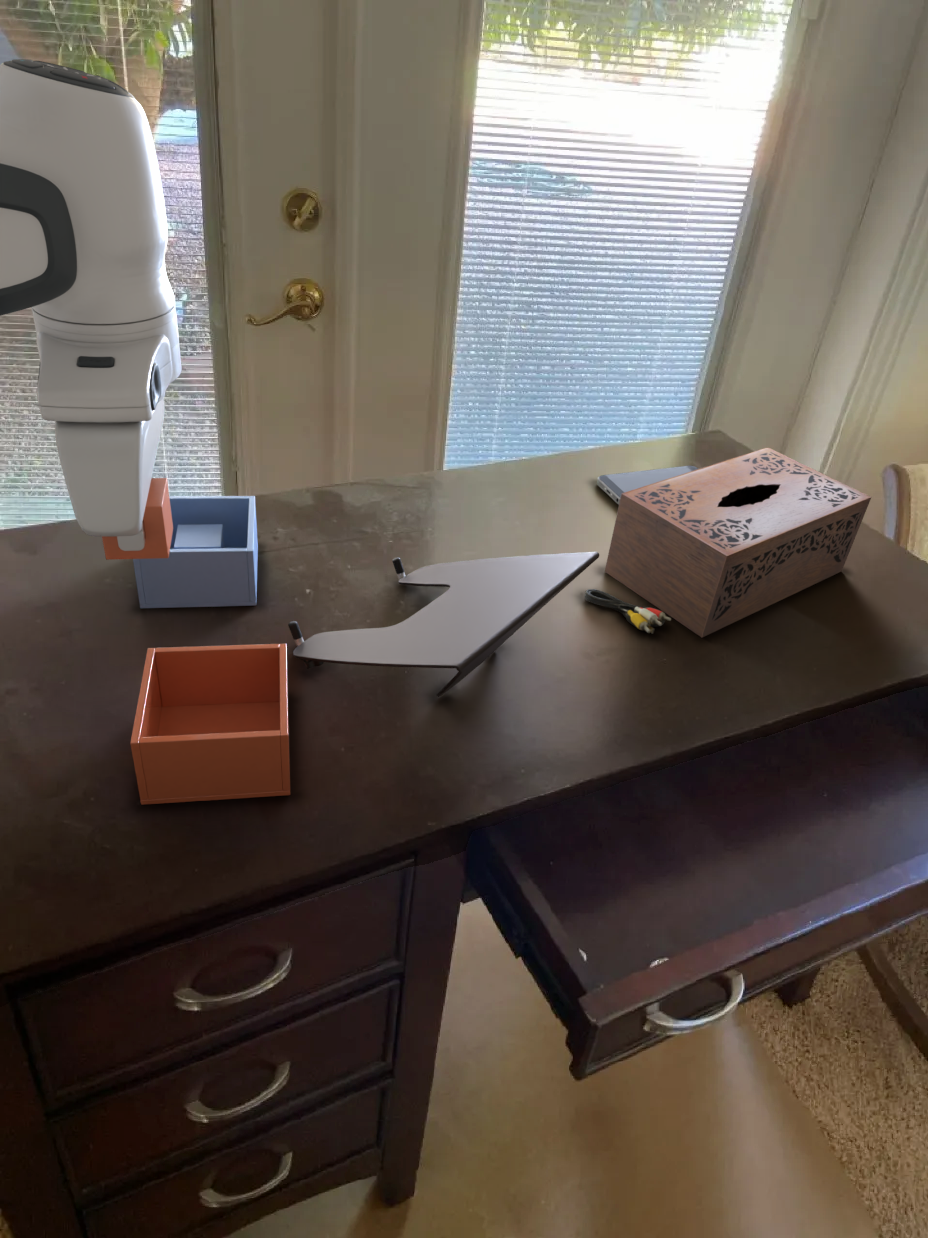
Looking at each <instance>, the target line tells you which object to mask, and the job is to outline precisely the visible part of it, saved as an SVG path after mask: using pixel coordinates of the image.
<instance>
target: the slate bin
mask: <svg viewBox="0 0 928 1238" xmlns="http://www.w3.org/2000/svg"><path fill="white" fill-rule="evenodd" d="M169 498H170V506H171V514H172V522H173V532H172V539H171V546H170V552H169V558H155V559H132V563H133V569H134V577H135V582H136V590H137V595H138V603H139V608H140V609H167V608H168V609H170V608H172V609H173V608H174V609H175V608H176V609H177V608H208V607H209V608H210V607H211V608H213V607H214V608H215V607H246V606H247V607H250V606H257V600H258V599H257V598H258V597H257V593H258V563H259V562H258V557H259V544H258V543H259V541H258V525H257V507H256V506H257V504H256V496H255V495H169ZM201 524H223V535H224V547H225V548H223V549H174V544H175V538H176V532H177V526H178V525H201Z"/></svg>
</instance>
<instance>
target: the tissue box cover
mask: <svg viewBox="0 0 928 1238" xmlns="http://www.w3.org/2000/svg"><path fill="white" fill-rule="evenodd" d="M871 500H872V496H870V495H868V494H866V493H864V492H862V491H860V490H858V489H855V488H854V487H852V486H850V485H847V484H846V483H844V482H842V481H839V480H837V479H835V478H833V477H831V476H829V475H827V474H825V473H823V472H821V471H819V470H816V469H814V468H813V467H810V466H808V465H806V464H803V463H802V462H799V461H797V460H796V459H794V458H791V457H790V456H788V455H785V454H783V453H781V452H779V451H777V450H775V449H772V448H770V447H768V446H766V447H764V448H760V449H758V450H757V449H756V450H754V451H751V452H748V453H745V454H742V455H738V456H735V457H731V458H728V459H725V460H722V461H719V462H716V463H713V464H710V465H707V466H704V467H700V468H698V469H697V470H694V471H691V472H688V473H685V474H681V475H678V476H675V477H672V478H669V479H666V480H663V481H659V482H656V483H653V484H650V485H647V486H644V487H641V488H637V489H634V490H631V491H628V492H625V493H622V494H621V498H620V503H619V505H618V508H617V511H616V518H615V522H614V526H613V530H612V536H611V539H610V544H609V549H608V554H607V558H606V562H605V567H604V573H606V574H608V575H609V576H610V577H612V578H613V579H615V580H616V581H618V582H619V583H620V584H622V585H624V586H625V587H626V588H628V589H630V590H631V591H632V592H634V593H636V594H637V595H639V597H641V598H643V600H646V601H647V602H649V603H650V604H652V605H653V606H655V607H656V608H657V609H658V610H660V611H662V612H663V613H665V615H668V617H670V618H671V619H673V620H675V621H677V622H678V623H680V624H681V625H682V626H684V627H685V628H687V629H688V630H690V631H691V632H693V633H694V634H696V635H697V636H699V637H700V638H705V637H706V636H708V635H711V634H713V633H715V632H717V631H719V630H721V629H723V628H725V627H727V626H731V624H734V623H736V622H738V621H740V620H742V619H744V618H746V617H749V616H750V615H752V614H755V613H757V612H759V611H761V610H764V609H766V608H768V607H769V606H771V605H774V604H776V603H778V602H780V601H782V600H784V599H787V598H788V597H791V596H793V595H795V594H797V593H799V592H801V591H803V590H806V589H807V588H810V587H812V586H813V585H815V584H818V583H820V582H823V581H824V580H826V579H829V578H831V577H833V576H834V575H835V576H836V574H840V573H841V572H842V571H843V569H844V568H845V564H846V563H847V560H848V557H849V554H850V551H851V549H852V546H853V545H854V542H855V539H856V537H857V534H858V532H859V529H860V527H861V524H862V522H863V520H864V517H865V514H866V512H867V509H868V507H869V505H870V502H871Z"/></svg>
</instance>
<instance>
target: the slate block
mask: <svg viewBox="0 0 928 1238" xmlns="http://www.w3.org/2000/svg"><path fill="white" fill-rule="evenodd" d="M223 548H225V547H224V535H223V524H201V525H178V526H177V532H176V538H175V544H174V549H223Z"/></svg>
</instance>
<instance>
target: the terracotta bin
mask: <svg viewBox="0 0 928 1238" xmlns="http://www.w3.org/2000/svg"><path fill="white" fill-rule="evenodd" d="M287 645H288V644H287V643H270V644H269V643H265V644H231V645H203V646H202V645H201V646H199V645H198V646H173V647H172V646H171V647H169V646H168V647H147V650H146V655H145V661H144V666H143V671H142V677H141V682H140V687H139V688H140V689H139V694H138V699H137V704H136V710H135V716H134V721H133V725H132V730H131V738H130V743H129V745H130V750H131V755H132V760H133V766H134V773H135V778H136V783H137V789H138V794H139V795H138V796H139V799H140V804H141V805H142V806H145V805H156V804H157V805H158V804H173V803H174V804H175V803H188V802H189V803H190V802H205V801H219V800H237V799H250V798H251V799H252V798H267V797H268V798H269V797H280V796H281V797H283V796H291V757H290V754H291V753H290V751H291V750H290V749H291V748H290V706H289V705H290V703H289V700H290V699H289V675H288V674H289V673H288V648H287V647H288V646H287Z"/></svg>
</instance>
